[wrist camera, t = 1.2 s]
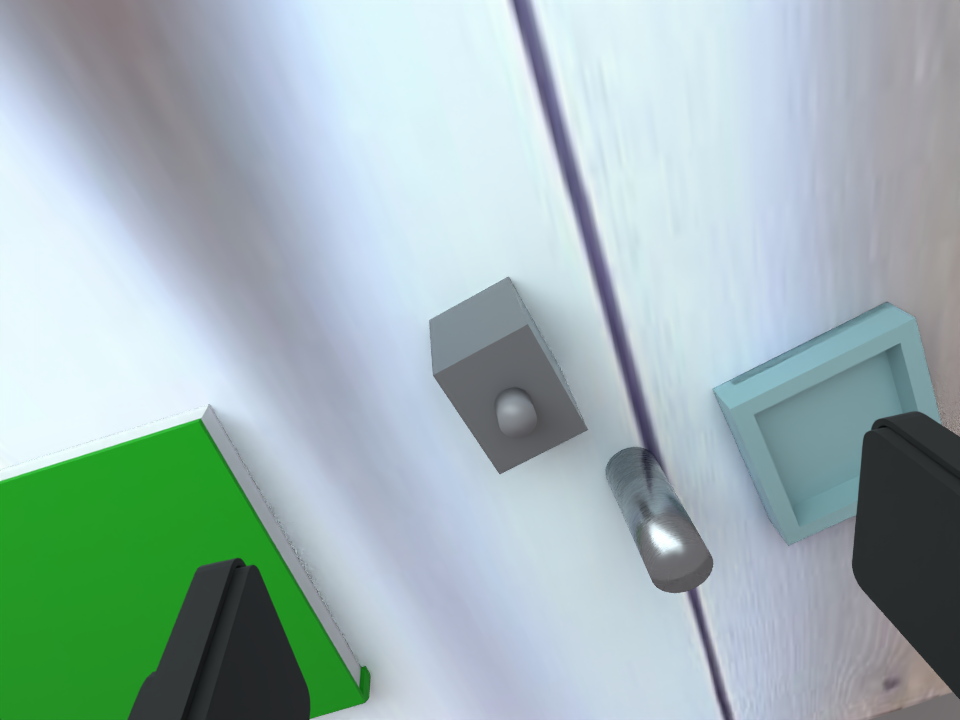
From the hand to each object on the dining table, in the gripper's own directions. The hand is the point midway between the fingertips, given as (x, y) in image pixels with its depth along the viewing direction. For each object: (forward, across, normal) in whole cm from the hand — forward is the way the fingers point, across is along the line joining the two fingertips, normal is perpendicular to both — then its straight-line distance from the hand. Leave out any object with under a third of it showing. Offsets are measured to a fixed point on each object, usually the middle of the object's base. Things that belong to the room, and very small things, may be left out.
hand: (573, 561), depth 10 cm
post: (+23, -7, +16) cm, 29 cm away
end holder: (+23, -19, +15) cm, 33 cm away
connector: (+23, -1, +6) cm, 24 cm away
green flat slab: (+25, +26, +19) cm, 41 cm away
